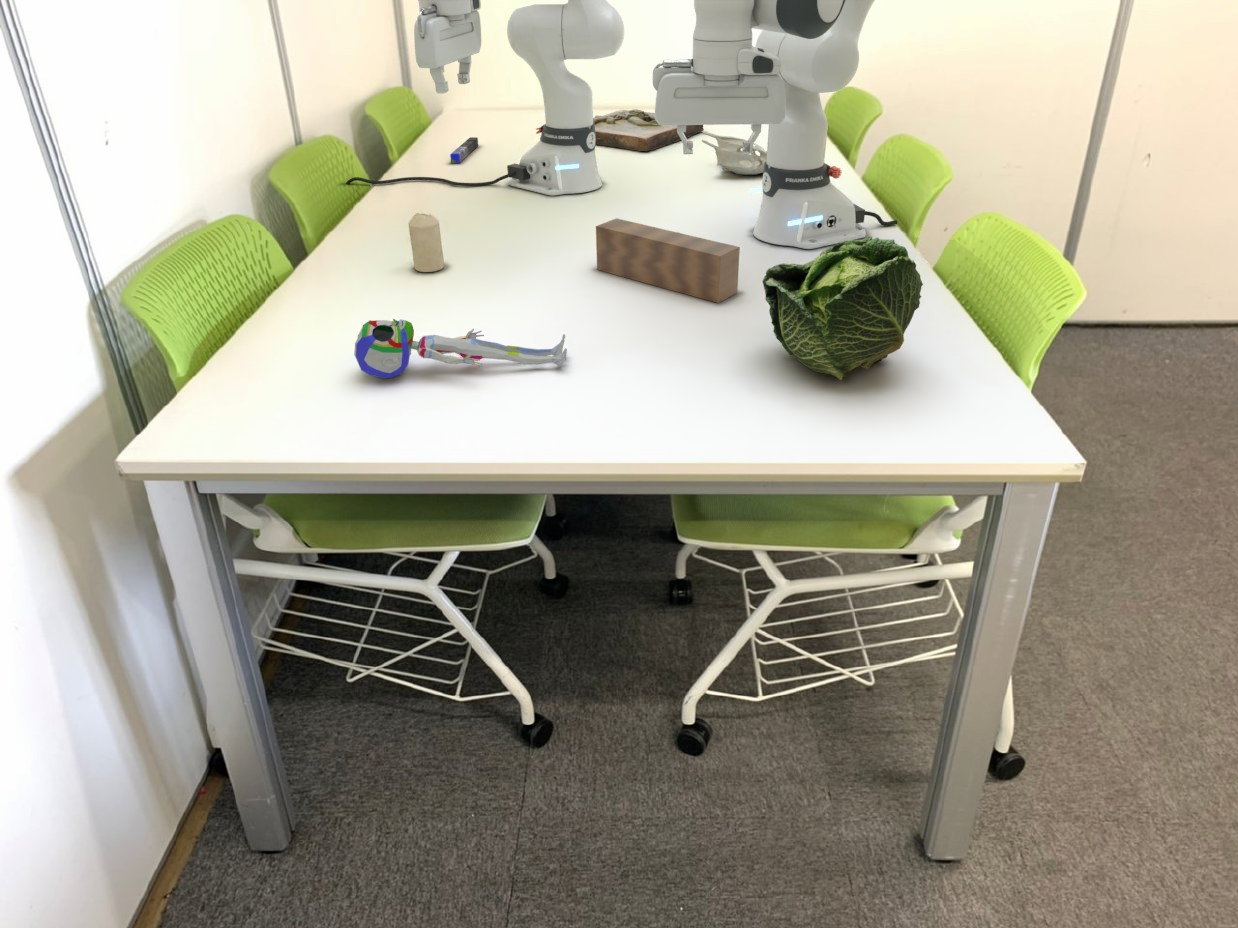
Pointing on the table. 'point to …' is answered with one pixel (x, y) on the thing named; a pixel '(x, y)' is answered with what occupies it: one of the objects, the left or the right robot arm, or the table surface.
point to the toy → (435, 349)
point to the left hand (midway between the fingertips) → (453, 88)
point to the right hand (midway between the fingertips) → (717, 153)
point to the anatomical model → (737, 155)
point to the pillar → (464, 150)
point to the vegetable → (844, 304)
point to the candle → (426, 243)
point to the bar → (668, 259)
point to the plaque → (637, 130)
